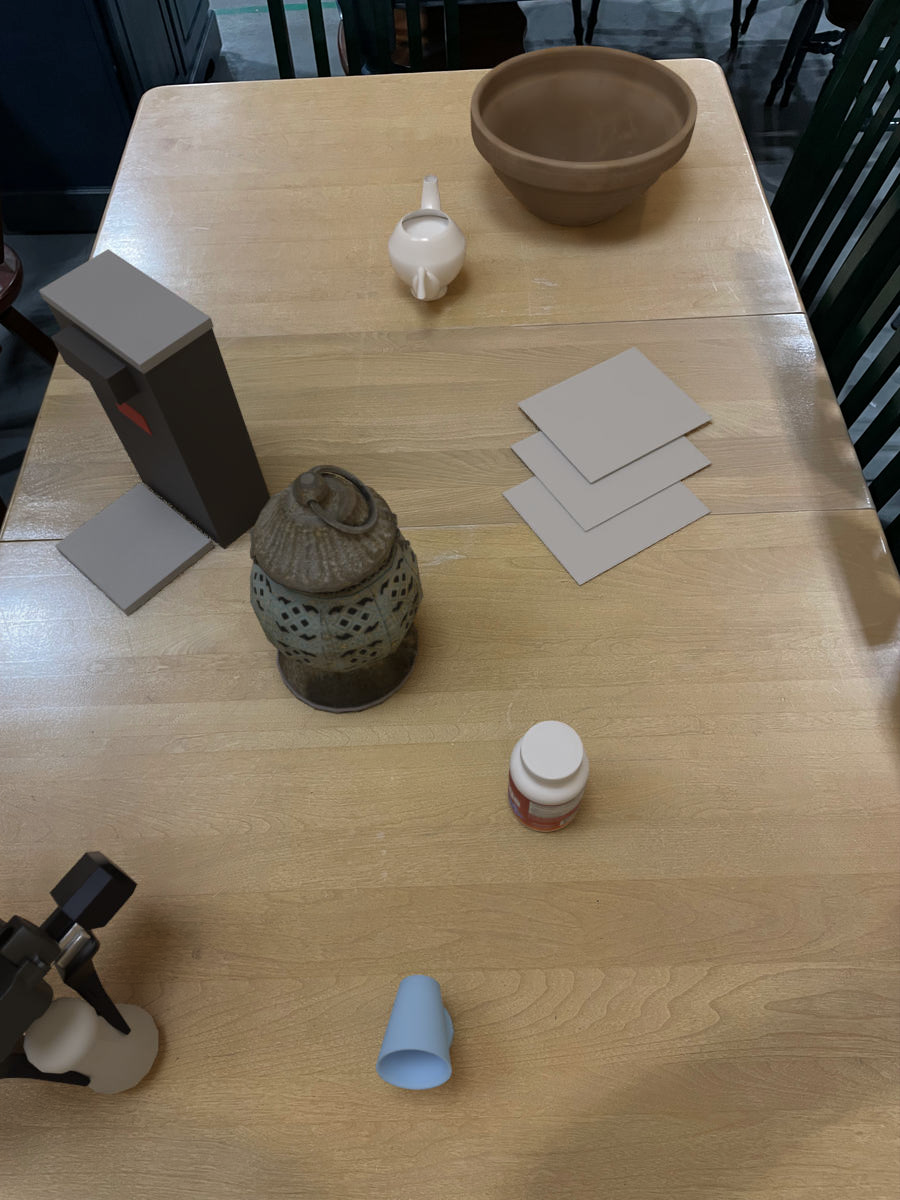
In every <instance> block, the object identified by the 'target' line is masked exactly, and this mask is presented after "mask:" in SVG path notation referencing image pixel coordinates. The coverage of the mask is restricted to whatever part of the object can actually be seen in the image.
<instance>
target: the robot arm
mask: <svg viewBox="0 0 900 1200" xmlns="http://www.w3.org/2000/svg"><path fill="white" fill-rule="evenodd" d="M137 886H138V883H137V882H136V881H135V880H134V879H133V878H132V877H131V876H130V875H129V874H128V873H127V872H126V871H125V870H123V869H122V868H121V867H120V866H119V865H118V864H117V863H115V862H114V861H113V860H111V858H108V856H107V855H105V854H104V853H103V852H101V851H100V850H95V851H86V852H85V853H84V854H83V855H82V856H81V857H80V858H79V859H78V860H77V861H76V862H75V864H74V865H73V866H72V867H71V868H70V869H69V870H68V871H67V872H66V874H65V875H63V877H61V879H60V880H59V881H58V883H56V885H55V886H54V887H53V888H52V889H51V890H50V891H49V892H48V893H49V894H50V895H49V896H51V898H52V899H53V901H54V902H55V904H56V905H57V907H56V908H55V909H54V910H53V911H52V912H51V913H50V914H49V915H48V917H47V918H46V919H45V920H44V921H43V922H42V923H41V924H40V926H38V925H36V924H35V923H33V922H32V921H30V920H28V919H27V918H25V917H22V916H20V915H18V914H14V915H12V916H11V918H9V920H8V921H7V922H6V921H5V920H4V919H3V918H2V917H0V1080H6V1079H24V1080H27V1079H28V1080H37V1081H44V1082H52V1083H56V1084H65V1085H71V1086H78V1087H84V1088H86V1087H88V1085H89V1084H90V1082H91V1079H90V1078H89V1077H87V1076H85V1075H82V1074H80V1073H78V1072H75V1071H71V1070H70V1071H67V1072H65V1073H46V1072H42V1071H40V1070H39V1069H38V1068H37V1067H35V1066H34V1065H33V1064H32V1063H31V1062H29V1061H28V1058H27V1055H26V1052H25V1050H24V1039H25V1032H26V1030H27V1029H28V1028H29V1027H30V1026H31V1024H32V1023H33V1022H34V1021H35V1020H37V1019H39V1018H41V1017H42V1016H43V1015H44V1013H45V1012H46V1011H47V1010H48V1008H49V1006H50V1005H51V1002H52V1001H53V1000H54V994H55V993H54V989H53V987H52V986H51V984H49V983H48V982H47V981H46V979H45V977H46V976H47V975H48V974H49V972H51V970H52V969H53V967H54V968H55V969H56V971H57V973H58V975H59V977H60V979H61V981H62V983H63V984H64V985H65V986H67V987H69V989H71V990H73V991H74V992H75V993H77V994H78V995H79V996H80V997H81V999H82V1000H84V1001H85V1002H87V1003H88V1004H89V1005H91V1006H92V1007H93V1008H94V1009H95V1010H96V1011H97V1012H98V1013H99V1014H100V1015H101V1016H102V1017H103V1018H104V1019H105V1020H106V1021H107V1022H108V1023H109V1024H111V1025H112V1026H113V1027H114V1028H116V1029H117V1030H119V1031H121V1032H122V1033H124V1034H125V1035H129V1033H130V1032H131V1029H130V1027H129V1026H128V1024H127V1023H126V1021H125V1020H124V1018H123V1017H122V1015H121V1013H120V1012H119V1010H118V1009H117V1007H116V1006H115V1004H116V1003H114V1001H113V1000H112V998H111V997H110V995H109V993H108V992H107V990H106V989H105V987H104V985H103V984H102V982H101V979H100V977H99V975H98V973H97V969H96V968H95V965H94V962H93V958H94V957H95V955H96V954H97V953H98V951H99V950H100V948H101V942H100V939H99V938H98V937H97V936H96V934H95V933H94V932H93V930H96V929H103V928H105V927H106V926H107V925H108V924H109V923H110V921H111V920H112V919H113V918H114V917H115V915H116V914H117V913H118V912H119V911H120V910H121V909H122V907H123V906H124V905H125V904H126V903H127V902H128V900H130V898H131V897H132V896H133V894H134V893H135V891H136V888H137Z"/></svg>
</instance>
